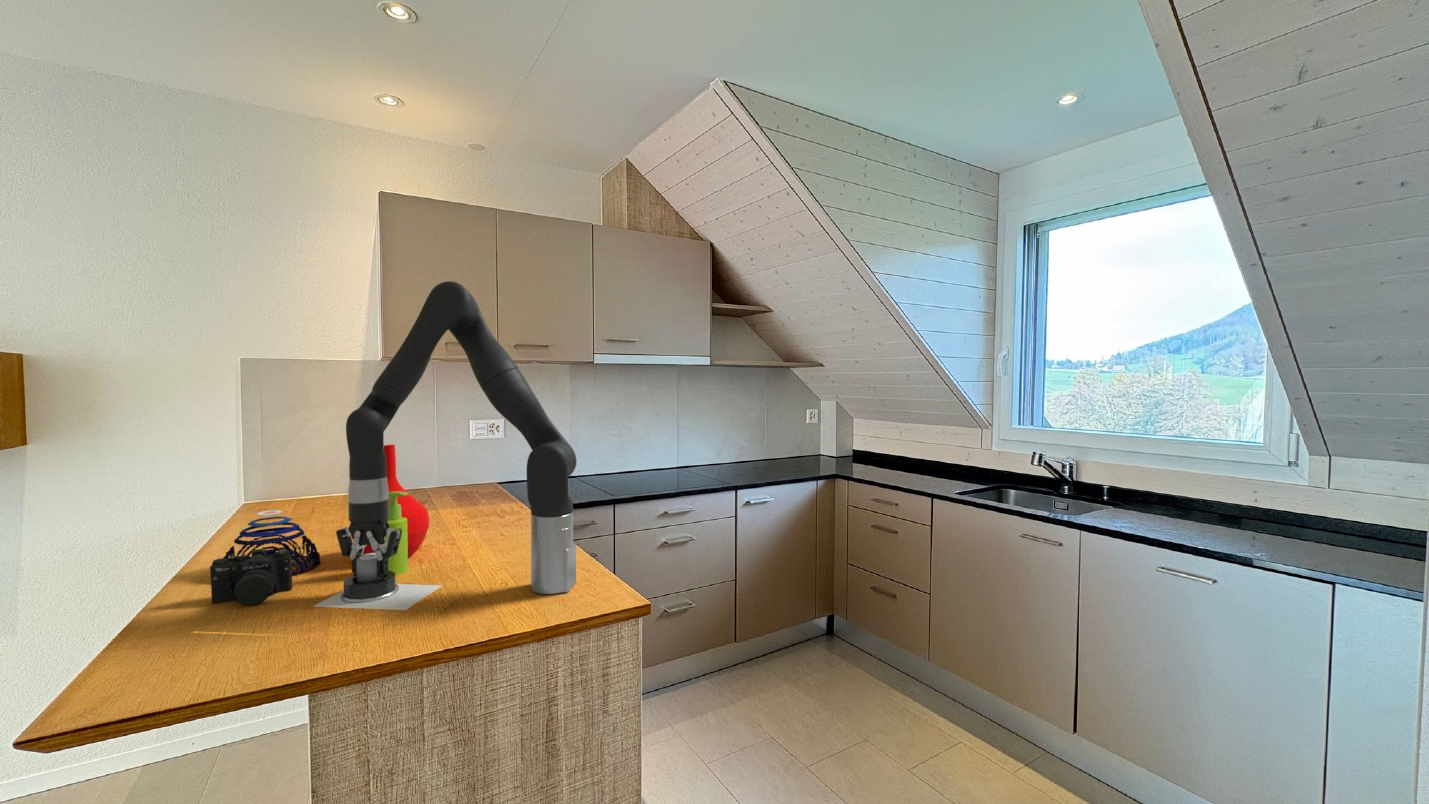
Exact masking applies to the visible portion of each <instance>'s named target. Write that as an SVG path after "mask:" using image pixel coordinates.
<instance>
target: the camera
mask: <svg viewBox="0 0 1429 804" xmlns="http://www.w3.org/2000/svg"><path fill="white" fill-rule="evenodd" d="M262 548H263V547H262ZM262 548H256V549H255V550H253V551H252V553H251V555H247V554H245V555H242V554H240V555H238V556H237V555H236V556H237V557H234V554H231V555H230V556H231V557H230V556H229V558H223V557H222V558H215V560H212V563H211V565H210V567H209V571H210V573H209V574H210V587H211V588H210V589H211V604H220V603H227V601H229V602H233V601H236V602H238V603H240V604H241V605H244V606H249V607H251V606H252V607H253V606H257V605H259V604H261V603H262V602H264V601H266V600H267V599H268V598H270V597H271V596H274V595H276V594H277V593H279V594H280V593H285V592H290V591H292V590H293V576H292V569H293V565H292V563H293V562H292V563H291V561H292V559H291V555H290V551H287V549H282V550H279V551H276V553H275V555H271V556H267V554H266V551H265V550H266V549H264V548H263V549H262Z"/></svg>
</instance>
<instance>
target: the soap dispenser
mask: <svg viewBox="0 0 1429 804" xmlns="http://www.w3.org/2000/svg"><path fill="white" fill-rule="evenodd" d="M388 495H389V517H388V524H389V526H390V528H392V529H396V530H397V529H401V530H402V535H401V539H400V543H399V547H398V551H397V554H395V555H393V556H391V557H389V558H388V571H392V572H395V576H398V575H399V576H400V575H403V574H405V573H408V571H409V558H408V539H407V518H403V517H401V505H399V504H397V496H402V497H405V496H408V495H411V494H410V492H408V493H406V492H401V491H394V492H388ZM387 537H388V534H386V536H385V538H386V541H387V544H388V541H389V539H388V538H387Z"/></svg>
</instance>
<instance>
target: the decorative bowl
mask: <svg viewBox="0 0 1429 804" xmlns="http://www.w3.org/2000/svg"><path fill="white" fill-rule="evenodd" d="M282 513H283V510H279V509H276V510H274V509H273V510H265V511H260V512H257V516H260V517H261V518H258V519H254V520H251V521H249V522H248V523H247V526H248V527H246V528H244V529H241V531H240V532H239V535H238V536H237V537H236V538H235V539H234V540H233V541H234V542H233V543H234V544H235V545H242V546H241V548H240V549H239V550H238V551H237V553H236V552H235V545H232V546H231V547H230V548H229V549H228V551H226V552H225V555H224V556H223V557H222V558H230V557H231V556H230V555H231V554H234V557H237V556H240V555H249V556H251V555H252V551H253V550H256V549H259V548H260V547H261V546H263V547H261V549H263V548H264V549H265V551H266V554H267V556H271V555H275V553H276V552H278V551H279V550H282V549H287V551H290V555H291V563H292V567H294V568H295V569H294V568H292V577H296V576H298V575H302V574H304V573H308V572H309V571H312V570H314V569H316V568H317V567H319V566H320V565H321V556H320V554H321V553H320V552H319V551H318V549H317V546H316V544H315V543H314V542H312V540H311V539H310V538H309V537H308V536H307V535H305V531H304V529H302V528H301V527H300V525H299V524H298V523H295V522H291V521H292V520H293V519H292V518H291V517H289V516H283V515H282V516H275V515H279V514H282ZM267 516H268V517H267ZM274 519H278V521H272V522H260V521H266V520H267V521H268V520H274ZM279 519H282V520H279ZM258 522H259V523H258ZM273 526H274V527H273ZM275 526H279V527H275ZM264 527H270V528H264ZM272 527H273V528H272ZM260 528H262V529H260ZM255 529H257V530H255ZM251 530H253V531H251ZM295 531H298V532H296V533H295V534H294V533H293V532H295ZM289 533H293V534H291V535H288V536H286V535H284V534H289ZM300 537H301V540H302V545H301V546H300V545H299V544H298V542H296V541H295V540H294V539H296V538H297V539H299V538H300ZM243 538H253V539H252V540H242V539H243ZM285 542H286V543H285ZM269 544H275V545H279V546H282V547H276V546H274V545H271V546H265V545H269ZM291 547H292V548H291ZM251 548H252V549H251ZM250 549H251V550H250ZM297 550H299V551H297ZM301 550H303V551H301ZM248 551H249V552H248ZM246 553H247V554H246ZM304 554H306V555H304ZM305 558H306V559H305ZM293 561H294V562H293ZM298 567H299V568H298Z"/></svg>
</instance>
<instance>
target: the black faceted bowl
mask: <svg viewBox="0 0 1429 804" xmlns="http://www.w3.org/2000/svg"><path fill="white" fill-rule="evenodd" d="M397 584H398V583H396V575H395V572H392V571H388V572H387V573H386V575H384V576H383V579H382V580H378V581H375V582H368V583H357V576H354V574H353V575H350V576H348V577H346V578H345V579H344V581H343V590H344V592H343V593H342V594H341V600H342V601H344V602H348V603H365V602H372V601H377V600H381V599H384V598H387V597H390V596H392V595H394V594H395V593H397V592H398V591H399V586H398V585H397Z"/></svg>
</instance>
